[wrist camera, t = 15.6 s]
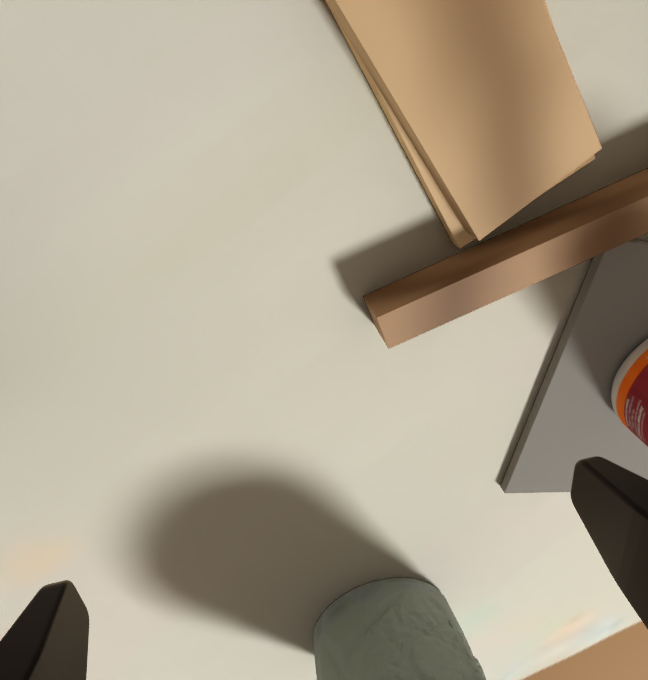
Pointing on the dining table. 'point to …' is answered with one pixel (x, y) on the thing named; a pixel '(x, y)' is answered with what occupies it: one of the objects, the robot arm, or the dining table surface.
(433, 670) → the grey-green rounded cylinder
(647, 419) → the pill bottle
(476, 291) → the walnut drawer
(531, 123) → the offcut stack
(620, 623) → the dining table surface
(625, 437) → the slate mat
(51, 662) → the robot arm
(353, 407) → the dining table surface
